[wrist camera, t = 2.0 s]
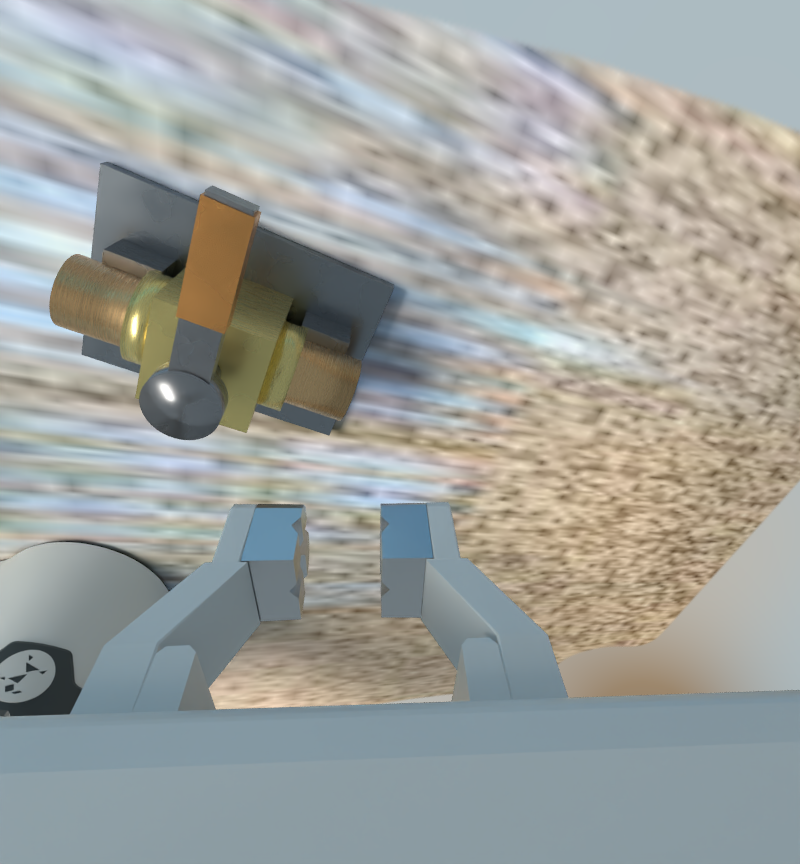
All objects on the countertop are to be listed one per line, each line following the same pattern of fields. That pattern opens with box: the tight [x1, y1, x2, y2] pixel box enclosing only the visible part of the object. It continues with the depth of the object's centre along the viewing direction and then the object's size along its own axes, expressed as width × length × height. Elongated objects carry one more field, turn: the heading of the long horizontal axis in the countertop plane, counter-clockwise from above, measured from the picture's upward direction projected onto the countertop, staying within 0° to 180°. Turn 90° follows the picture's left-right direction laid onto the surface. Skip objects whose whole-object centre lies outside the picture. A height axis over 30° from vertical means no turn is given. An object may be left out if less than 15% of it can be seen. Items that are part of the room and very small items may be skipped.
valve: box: [50, 162, 394, 435], centre depth 28 cm, size 12×17×10 cm
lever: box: [139, 186, 261, 440], centre depth 21 cm, size 11×4×1 cm, turn 156°
